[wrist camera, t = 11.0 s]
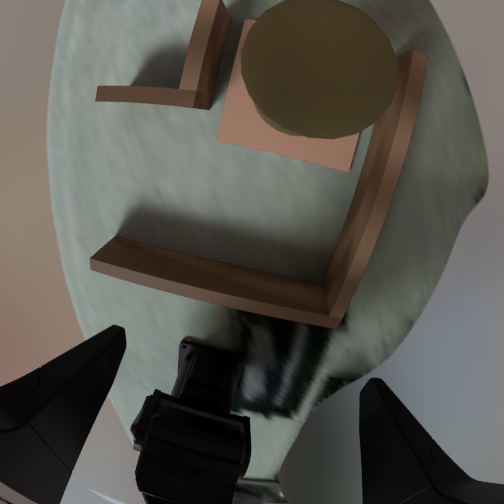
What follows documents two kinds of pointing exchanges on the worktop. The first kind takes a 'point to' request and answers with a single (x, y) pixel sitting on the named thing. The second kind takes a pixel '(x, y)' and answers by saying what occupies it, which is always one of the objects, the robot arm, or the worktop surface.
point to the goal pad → (266, 137)
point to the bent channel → (253, 281)
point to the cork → (318, 68)
